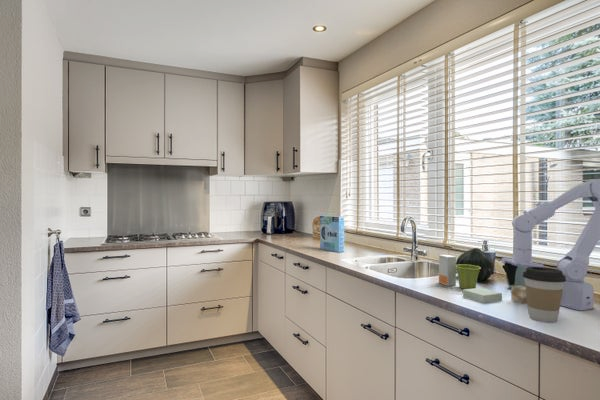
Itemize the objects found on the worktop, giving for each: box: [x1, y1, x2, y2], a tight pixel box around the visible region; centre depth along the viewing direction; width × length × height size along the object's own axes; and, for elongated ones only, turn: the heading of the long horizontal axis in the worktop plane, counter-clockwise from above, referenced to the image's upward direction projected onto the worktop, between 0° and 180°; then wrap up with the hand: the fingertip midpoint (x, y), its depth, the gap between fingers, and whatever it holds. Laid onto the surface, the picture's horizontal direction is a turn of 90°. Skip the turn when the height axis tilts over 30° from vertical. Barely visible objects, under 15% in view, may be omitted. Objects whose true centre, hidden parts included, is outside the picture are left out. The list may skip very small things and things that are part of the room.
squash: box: [456, 247, 494, 282], centre depth 173 cm, size 14×15×15 cm
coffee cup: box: [523, 266, 566, 324], centre depth 118 cm, size 11×11×15 cm
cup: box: [505, 265, 526, 289], centre depth 157 cm, size 8×8×10 cm
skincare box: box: [438, 254, 457, 287], centre depth 163 cm, size 6×4×12 cm
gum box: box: [319, 215, 345, 253], centre depth 258 cm, size 20×5×23 cm, turn 36°
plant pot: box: [456, 264, 481, 290], centre depth 157 cm, size 9×9×9 cm
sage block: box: [462, 287, 503, 304], centre depth 141 cm, size 9×9×3 cm
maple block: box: [510, 286, 527, 305], centre depth 138 cm, size 4×4×5 cm
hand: (521, 287), depth 138 cm, fingers open, 7 cm apart
